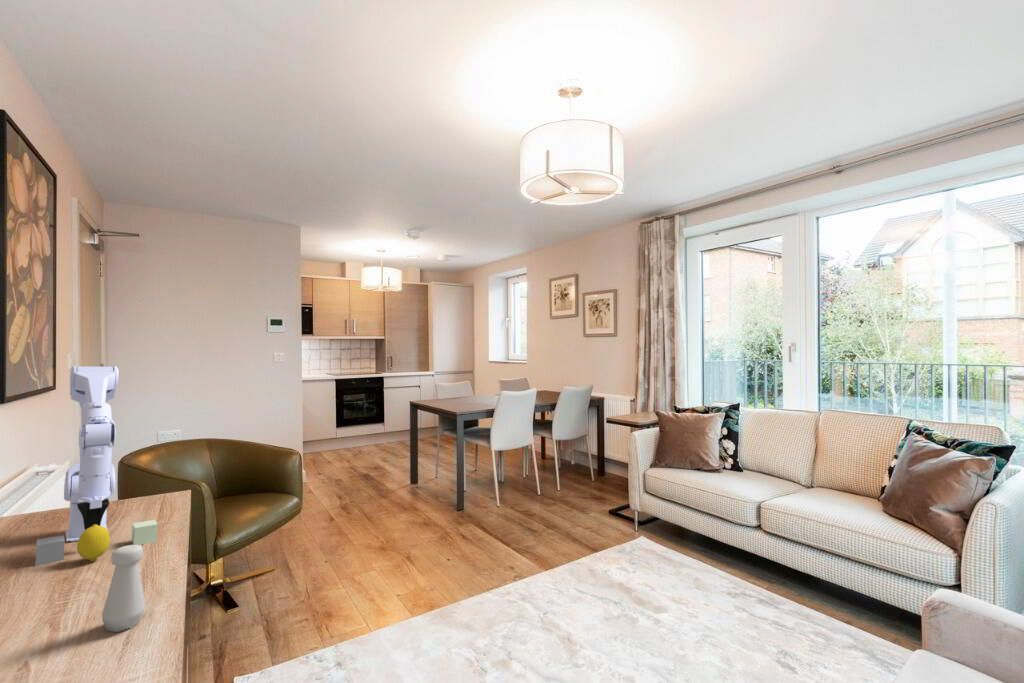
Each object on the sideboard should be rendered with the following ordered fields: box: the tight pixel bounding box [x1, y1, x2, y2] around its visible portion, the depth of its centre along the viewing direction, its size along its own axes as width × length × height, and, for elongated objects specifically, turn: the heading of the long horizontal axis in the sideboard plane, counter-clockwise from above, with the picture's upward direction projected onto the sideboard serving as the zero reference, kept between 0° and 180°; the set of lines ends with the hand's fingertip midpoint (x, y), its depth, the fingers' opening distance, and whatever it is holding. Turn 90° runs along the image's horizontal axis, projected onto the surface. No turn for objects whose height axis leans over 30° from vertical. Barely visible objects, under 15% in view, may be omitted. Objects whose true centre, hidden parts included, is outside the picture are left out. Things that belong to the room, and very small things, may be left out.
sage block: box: [131, 519, 159, 546], centre depth 120 cm, size 4×4×4 cm
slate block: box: [35, 534, 66, 567], centre depth 109 cm, size 4×4×4 cm
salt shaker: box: [101, 544, 146, 633], centre depth 82 cm, size 6×6×13 cm
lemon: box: [76, 524, 111, 562], centre depth 108 cm, size 6×6×8 cm
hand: (91, 533), depth 114 cm, fingers closed
